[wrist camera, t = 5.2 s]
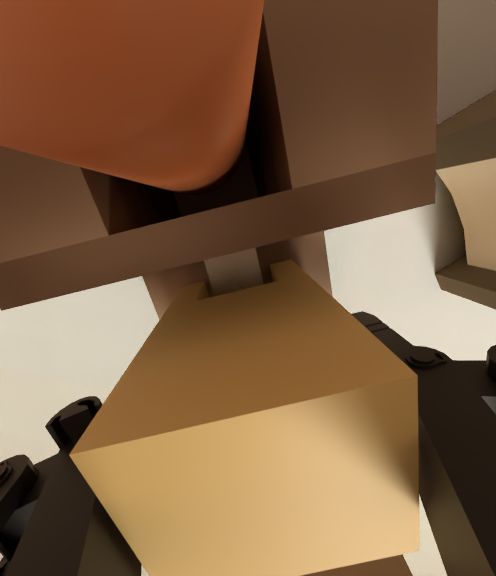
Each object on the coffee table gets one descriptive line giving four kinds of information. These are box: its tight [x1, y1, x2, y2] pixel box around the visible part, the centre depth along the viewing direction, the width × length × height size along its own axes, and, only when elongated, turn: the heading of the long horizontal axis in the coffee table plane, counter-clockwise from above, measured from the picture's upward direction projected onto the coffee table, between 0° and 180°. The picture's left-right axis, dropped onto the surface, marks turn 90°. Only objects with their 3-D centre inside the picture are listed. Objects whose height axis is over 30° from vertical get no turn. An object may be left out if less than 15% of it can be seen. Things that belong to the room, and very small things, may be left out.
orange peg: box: [0, 0, 264, 196], centre depth 4 cm, size 3×3×6 cm
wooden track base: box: [0, 0, 438, 576], centre depth 12 cm, size 30×10×10 cm, turn 14°
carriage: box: [69, 259, 420, 576], centre depth 9 cm, size 5×6×9 cm
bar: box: [204, 248, 264, 296], centre depth 14 cm, size 17×2×2 cm, turn 14°
